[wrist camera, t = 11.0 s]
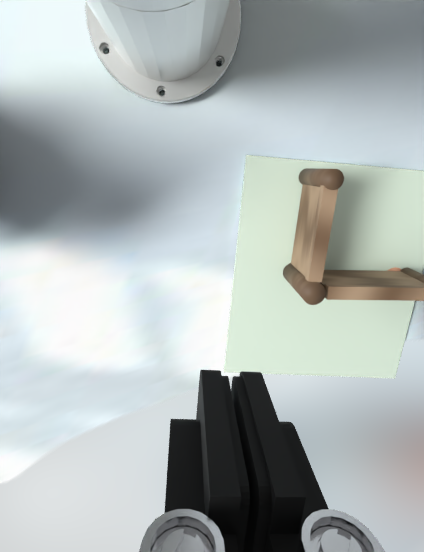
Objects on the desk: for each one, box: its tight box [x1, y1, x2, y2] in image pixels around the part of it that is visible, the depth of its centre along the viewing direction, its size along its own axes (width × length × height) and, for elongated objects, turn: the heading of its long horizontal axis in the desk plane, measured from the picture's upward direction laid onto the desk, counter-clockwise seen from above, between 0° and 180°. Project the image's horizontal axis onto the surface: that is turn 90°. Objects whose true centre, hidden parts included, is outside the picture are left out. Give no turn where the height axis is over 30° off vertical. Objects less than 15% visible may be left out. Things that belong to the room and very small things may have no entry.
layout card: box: [224, 155, 424, 378], centre depth 38 cm, size 23×20×1 cm
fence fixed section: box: [283, 168, 344, 305], centre depth 33 cm, size 11×2×7 cm, turn 175°
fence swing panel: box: [319, 268, 424, 301], centre depth 34 cm, size 12×2×8 cm, turn 88°
